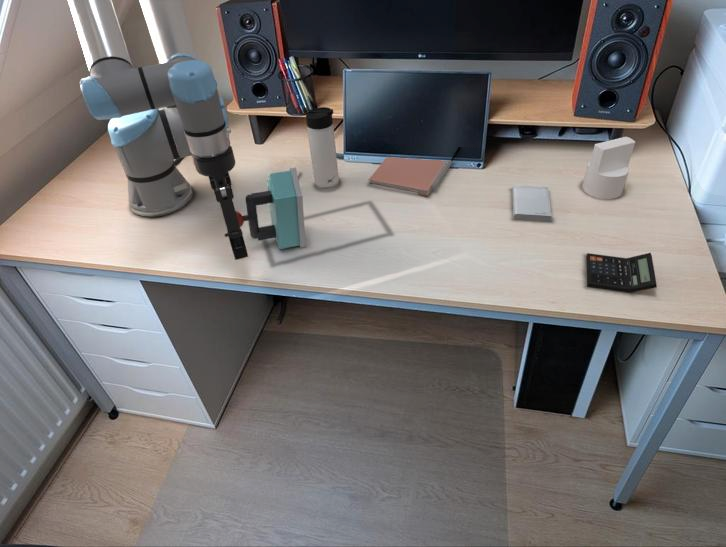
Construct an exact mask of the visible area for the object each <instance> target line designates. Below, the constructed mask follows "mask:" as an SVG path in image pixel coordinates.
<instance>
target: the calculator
mask: <svg viewBox="0 0 726 547" xmlns="http://www.w3.org/2000/svg"><path fill="white" fill-rule="evenodd" d="M585 261H586V262H585V263H586V264H585V266H586V287H587V288H593V289H598V290H599V289H601V290H606V291H607V290H608V291H615V292H621V293H627V294H630V293H635V292H640V291H646V290H651V289H652V290H653V289H657V288H658V284H657V278H656V273H655V267H654V261H653V255H652V253H651V252H647V253H642V254H639V255H634V256H631V257H621V256H620V257H619V256H613V255H606V254H605V255H604V254H598V253H589V252H587V253H586V257H585Z"/></svg>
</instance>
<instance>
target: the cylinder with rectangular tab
mask: <svg viewBox="0 0 726 547" xmlns="http://www.w3.org/2000/svg"><path fill="white" fill-rule="evenodd" d="M635 145H636V141H635V140H634V139H633V138H631V137H628V136H622V137H619V138H615V139H610V140H606V141H602V142H598V143H594V147H593V150H592V153H591V157H590V160H589V161H588V163H587V166H586V170H585V173H584V178H583V182H582V185H581V186H582V190H583V192H584V193H585V194H587V195H588V196H590V197H593V198H595V199H600V200H612V199H613V200H614V199H616V198H619V197H620V196H622V194H623V192H624V188H625V186H626V183H627V179H628V176H629V174H630V166H629V164H630V161H631V158H632V154H633V152H634V149H635Z"/></svg>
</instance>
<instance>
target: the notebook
mask: <svg viewBox="0 0 726 547" xmlns="http://www.w3.org/2000/svg"><path fill="white" fill-rule="evenodd" d="M454 161H455V160H453V161H450V160H448V161H441V160H426V159H425V160H423V159H422V160H421V159H406V158H395V157H394V158H392V157H388V156H386V157H385V159H384V160H383V161H382V163H381V164H380V165H379V166H378V167H377V169H375V171H374V172H373V173H372V175H371V176H369V178H368V181H369V182H370V184H372V185H373V184H374V185H379V186H384V187H390V188H394V189H400V190H404V191H410V192H414V193H417V194H418V195H421V196H425V197H426V196H427V197H428V196H429V195H430V194H431V193H432V192H433V193H434V192H435V191H436V190H437V188H438V186H439V185H440V184H441V182H442V180H443V178H444V177H445V176H446V174H447V172H448V171H449V169H450V167H451V166H452V165H453V163H454ZM447 162H448V163H447Z"/></svg>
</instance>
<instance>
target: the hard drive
mask: <svg viewBox="0 0 726 547" xmlns="http://www.w3.org/2000/svg"><path fill="white" fill-rule="evenodd" d="M511 191H512V214H513V216H512V217H513V220H518V221H533V222H546V223H547V222H548V223H549V222H552V219H553V214H552V208H551V207H552V206H551V200H550V191H549V187H548V186H546V185H528V184H527V185H525V184H513V185H512V189H511Z"/></svg>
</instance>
